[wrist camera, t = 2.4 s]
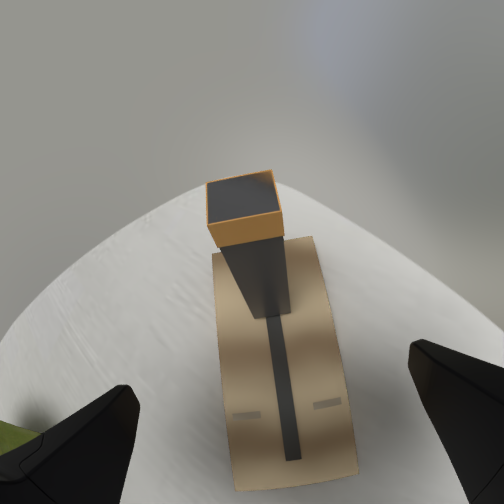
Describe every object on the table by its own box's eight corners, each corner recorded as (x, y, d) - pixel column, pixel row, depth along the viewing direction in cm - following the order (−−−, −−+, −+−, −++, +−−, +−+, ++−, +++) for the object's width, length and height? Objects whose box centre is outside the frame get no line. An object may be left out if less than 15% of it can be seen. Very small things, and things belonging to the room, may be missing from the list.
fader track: (353, 467, 15) (359, 474, 13) (241, 484, 16) (235, 491, 14) (311, 248, 24) (312, 235, 22) (218, 265, 25) (211, 253, 23)
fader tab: (291, 313, 19) (282, 211, 10) (253, 319, 19) (206, 225, 10) (286, 285, 20) (271, 169, 11) (250, 291, 20) (205, 182, 11)
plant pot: (17, 406, 20) (-44, 389, 12) (72, 431, 18) (0, 423, 11) (19, 478, 15) (-40, 475, 8) (76, 513, 14) (11, 525, 6)
